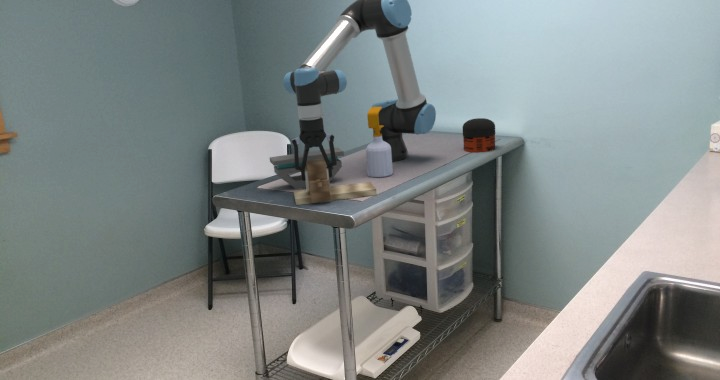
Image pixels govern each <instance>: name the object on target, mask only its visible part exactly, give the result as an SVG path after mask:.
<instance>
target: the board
mask: <svg viewBox="0 0 720 380" xmlns="http://www.w3.org/2000/svg"><path fill="white" fill-rule="evenodd" d="M362 196H365V197H372V196H377V188H376V186H374V184H373V183H372V182H371V181H366V182H357V183H349V184H342V185H340V184H339V185H334V186H330V198H331V201H330V202H332V201H333V202H334V201H339V200H347V198H349V199H354V198H353V197H357V198H363V197H362ZM293 197H294V201H295V206H299V205H309V204H313V203H312V202H311V195H310V193H309V191H307V190H306V189H302V190H294V191H293Z"/></svg>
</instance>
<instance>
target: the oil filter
mask: <svg viewBox="0 0 720 380" xmlns="http://www.w3.org/2000/svg"><path fill="white" fill-rule="evenodd" d="M462 137H463V140H462V141H463V151H465V152H468V153H477V154H478V153H488V152H491V151H494V150H496V124H495V122H494V121H493V120H491V119H489V118H485V117H484V118H483V117H481V118H480V117H476V118H470V119H469V120H466V121H465V122H464V123H463V125H462Z"/></svg>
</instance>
